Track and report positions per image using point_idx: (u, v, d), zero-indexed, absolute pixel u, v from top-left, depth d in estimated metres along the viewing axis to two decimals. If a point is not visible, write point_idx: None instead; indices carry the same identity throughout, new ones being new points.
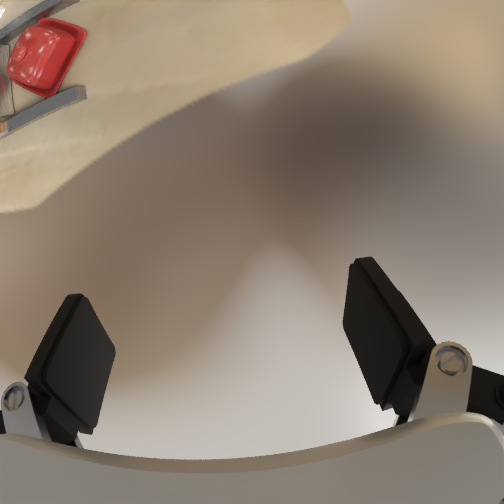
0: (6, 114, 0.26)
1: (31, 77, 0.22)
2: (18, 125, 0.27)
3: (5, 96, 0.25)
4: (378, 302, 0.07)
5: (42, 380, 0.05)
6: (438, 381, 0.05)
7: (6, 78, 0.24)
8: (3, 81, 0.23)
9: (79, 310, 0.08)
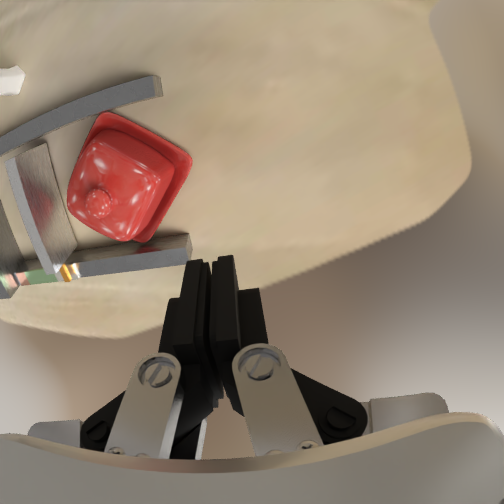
0: (70, 252, 0.28)
1: (123, 235, 0.24)
2: (96, 273, 0.29)
3: (62, 227, 0.27)
4: (211, 297, 0.08)
5: (195, 344, 0.07)
6: (256, 391, 0.05)
7: (56, 199, 0.26)
8: (54, 206, 0.25)
9: (207, 274, 0.09)
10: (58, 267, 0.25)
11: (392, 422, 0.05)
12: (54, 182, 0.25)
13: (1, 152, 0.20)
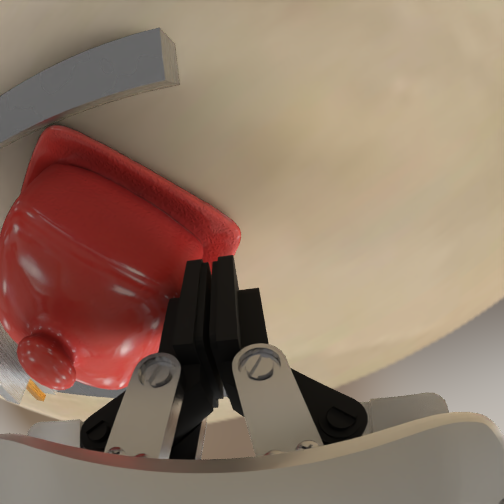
0: None
1: (113, 388, 0.11)
2: (80, 393, 0.16)
3: None
4: (211, 297, 0.08)
5: (195, 344, 0.07)
6: (255, 392, 0.05)
7: None
8: None
9: (207, 274, 0.09)
10: (20, 393, 0.12)
11: (392, 421, 0.05)
12: None
13: None
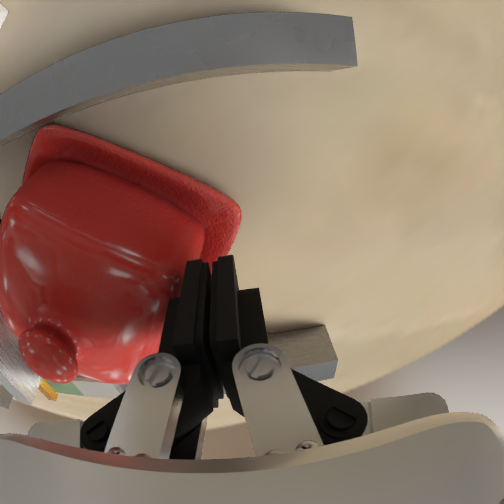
0: None
1: (122, 382, 0.11)
2: None
3: None
4: (211, 297, 0.08)
5: (195, 344, 0.07)
6: (255, 391, 0.05)
7: None
8: None
9: (207, 274, 0.09)
10: (33, 393, 0.12)
11: (392, 422, 0.05)
12: None
13: None
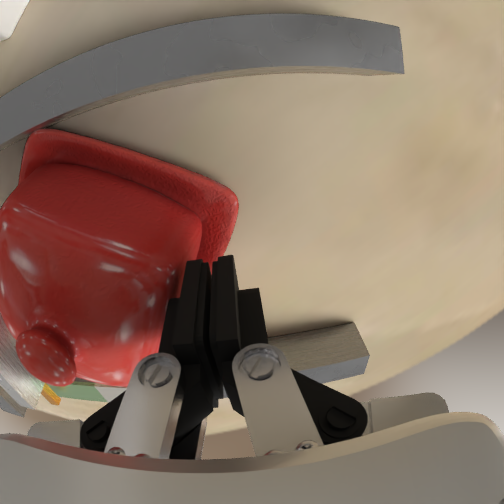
0: None
1: (126, 383, 0.11)
2: None
3: None
4: (211, 297, 0.08)
5: (195, 344, 0.07)
6: (255, 391, 0.05)
7: None
8: None
9: (207, 274, 0.09)
10: (36, 398, 0.12)
11: (393, 421, 0.05)
12: None
13: None
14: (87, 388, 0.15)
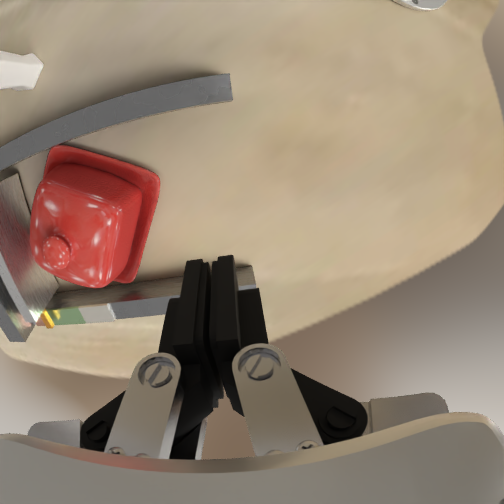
0: (51, 296, 0.24)
1: (96, 282, 0.20)
2: (138, 315, 0.25)
3: (40, 269, 0.22)
4: (211, 297, 0.08)
5: (195, 344, 0.07)
6: (255, 392, 0.05)
7: None
8: (29, 245, 0.21)
9: (206, 274, 0.09)
10: (38, 315, 0.21)
11: (392, 422, 0.05)
12: (28, 218, 0.21)
13: (10, 162, 0.16)
14: (73, 311, 0.24)
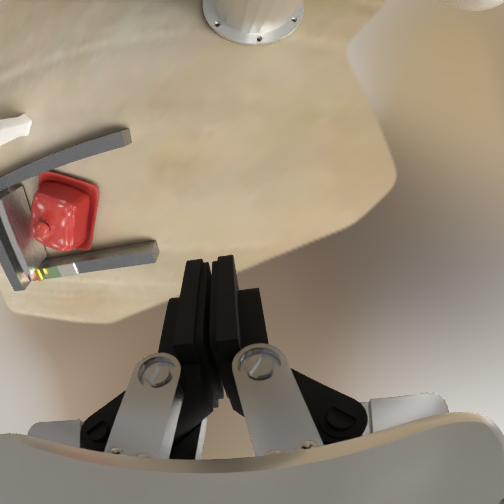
0: (42, 260, 0.38)
1: (65, 247, 0.34)
2: (90, 270, 0.39)
3: (36, 243, 0.37)
4: (211, 297, 0.08)
5: (195, 344, 0.07)
6: (255, 391, 0.05)
7: None
8: (29, 229, 0.35)
9: (207, 274, 0.09)
10: (33, 270, 0.35)
11: (392, 421, 0.05)
12: (29, 212, 0.35)
13: (17, 181, 0.30)
14: (54, 268, 0.38)
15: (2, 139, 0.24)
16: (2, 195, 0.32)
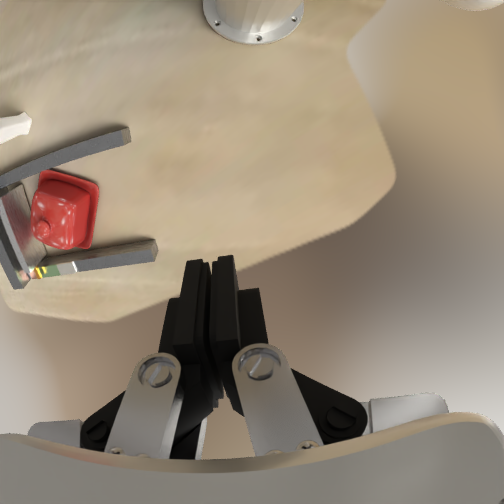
0: (41, 258, 0.38)
1: (65, 245, 0.34)
2: (89, 269, 0.39)
3: (35, 241, 0.37)
4: (211, 297, 0.08)
5: (195, 344, 0.07)
6: (255, 391, 0.05)
7: (30, 222, 0.36)
8: (29, 227, 0.35)
9: (207, 274, 0.09)
10: (32, 268, 0.35)
11: (392, 422, 0.05)
12: (29, 211, 0.35)
13: (17, 179, 0.30)
14: (53, 267, 0.38)
15: (2, 137, 0.24)
16: (2, 193, 0.32)
